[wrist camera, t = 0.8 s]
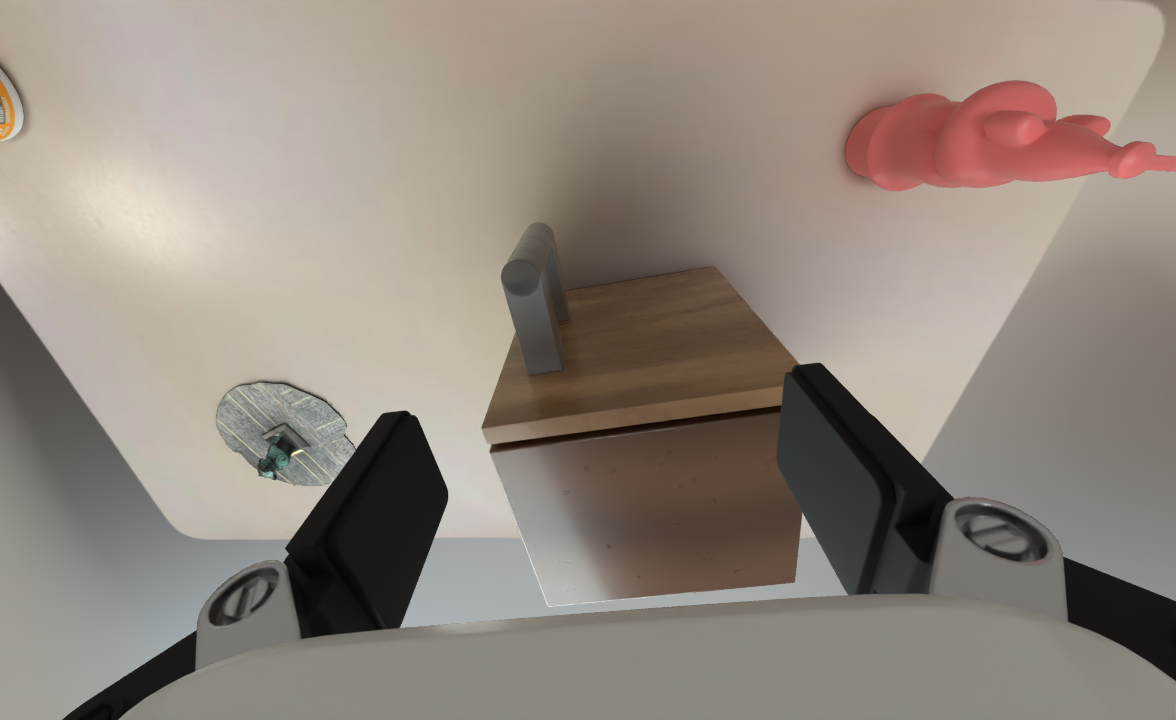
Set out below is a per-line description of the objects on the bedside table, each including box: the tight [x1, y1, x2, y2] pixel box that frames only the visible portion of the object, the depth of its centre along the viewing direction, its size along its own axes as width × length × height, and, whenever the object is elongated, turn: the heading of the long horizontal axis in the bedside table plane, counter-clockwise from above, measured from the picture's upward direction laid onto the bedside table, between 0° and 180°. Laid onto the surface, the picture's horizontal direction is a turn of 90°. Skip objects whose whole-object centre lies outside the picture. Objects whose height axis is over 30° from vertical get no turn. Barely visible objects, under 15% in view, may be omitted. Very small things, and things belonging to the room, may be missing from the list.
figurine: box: [845, 81, 1176, 191], centre depth 20 cm, size 5×5×15 cm
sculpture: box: [216, 382, 356, 486], centre depth 39 cm, size 12×9×8 cm
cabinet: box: [490, 405, 802, 607], centre depth 28 cm, size 12×14×16 cm
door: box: [482, 223, 800, 445], centre depth 23 cm, size 7×14×16 cm, turn 100°
